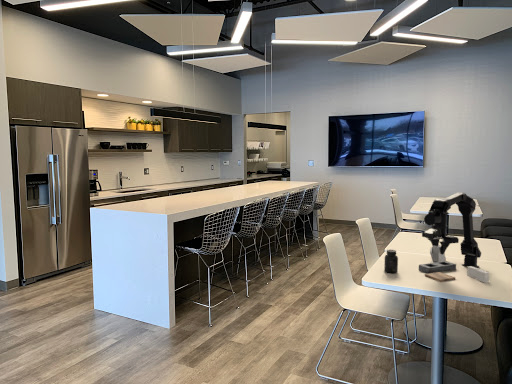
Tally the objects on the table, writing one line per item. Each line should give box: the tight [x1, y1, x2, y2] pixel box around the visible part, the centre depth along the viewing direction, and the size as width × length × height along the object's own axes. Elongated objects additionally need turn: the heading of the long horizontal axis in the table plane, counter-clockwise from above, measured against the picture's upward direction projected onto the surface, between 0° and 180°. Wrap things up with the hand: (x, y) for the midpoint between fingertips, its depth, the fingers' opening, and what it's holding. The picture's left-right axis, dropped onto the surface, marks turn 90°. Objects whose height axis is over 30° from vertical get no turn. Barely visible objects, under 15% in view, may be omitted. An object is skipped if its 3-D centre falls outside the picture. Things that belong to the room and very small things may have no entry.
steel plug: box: [431, 244, 446, 262], centre depth 197 cm, size 4×4×8 cm
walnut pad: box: [424, 272, 456, 283], centre depth 197 cm, size 10×10×1 cm
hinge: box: [429, 246, 447, 263], centre depth 229 cm, size 17×5×10 cm, turn 148°
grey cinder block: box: [418, 260, 457, 274], centre depth 211 cm, size 20×7×3 cm, turn 112°
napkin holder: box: [466, 266, 490, 283], centre depth 194 cm, size 15×11×6 cm
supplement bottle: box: [383, 249, 399, 275], centre depth 206 cm, size 7×7×12 cm
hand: (438, 253), depth 197 cm, fingers closed on steel plug, 4 cm apart
